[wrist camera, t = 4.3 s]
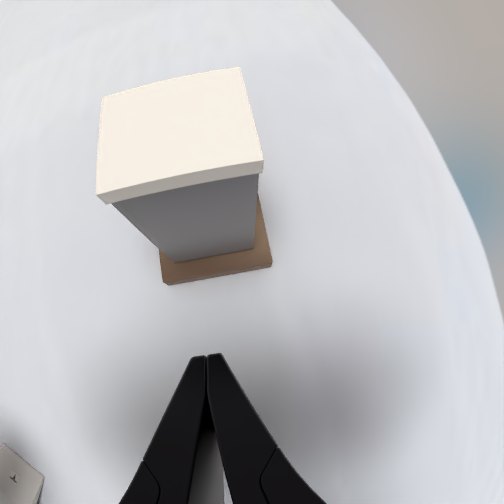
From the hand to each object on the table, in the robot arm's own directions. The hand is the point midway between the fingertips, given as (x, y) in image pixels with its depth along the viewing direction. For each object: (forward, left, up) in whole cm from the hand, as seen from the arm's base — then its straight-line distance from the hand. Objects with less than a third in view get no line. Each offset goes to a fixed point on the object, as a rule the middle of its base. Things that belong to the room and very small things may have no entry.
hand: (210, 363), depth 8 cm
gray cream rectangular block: (+5, +6, -10) cm, 13 cm away
